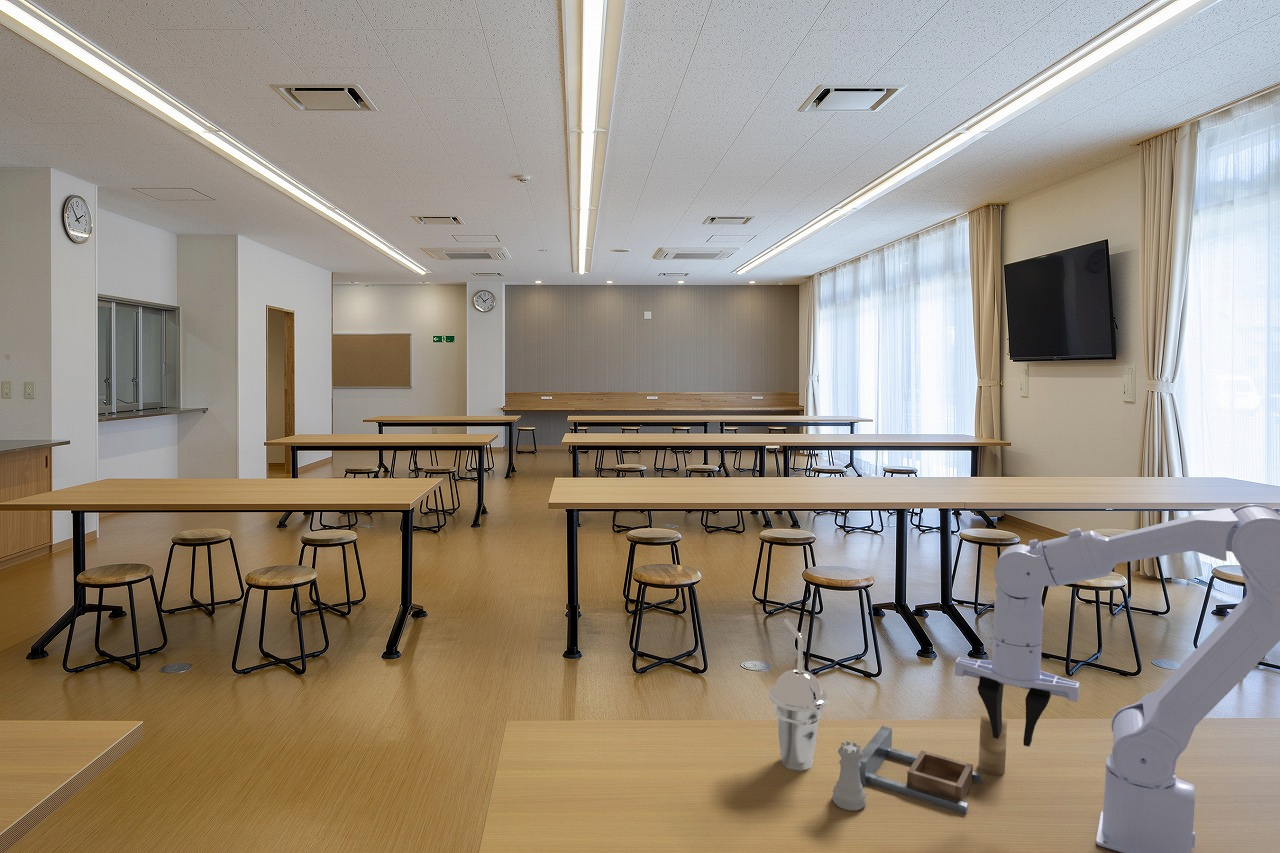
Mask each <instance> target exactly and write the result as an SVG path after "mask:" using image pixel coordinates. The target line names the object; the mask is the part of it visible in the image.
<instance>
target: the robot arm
mask: <svg viewBox="0 0 1280 853" xmlns="http://www.w3.org/2000/svg"><path fill="white" fill-rule="evenodd" d="M1188 552H1195V553H1196V552H1197V553H1200V554H1202V555H1205V556H1208V557H1211V558H1214V559H1216V560H1220V561H1223V562H1227V552H1231V553H1232V554H1233V556H1234V558H1235V559H1236V561H1237V562H1238V564H1239V565H1240V571H1241V574H1242V578H1243V580H1244V584H1245V589H1246V591H1247V593H1246V595H1245V596H1244V597H1243V599H1241V601H1240V602H1239V603H1238V604H1237V605H1236V606H1235V607H1234V608H1233V609H1232V610H1231V611H1230V612H1229V613H1228V614H1227V615H1226V617H1225V618H1224V619H1223V620H1221V622H1220V623H1219V624H1218V625H1217V626H1216V627H1215V628H1214V629H1213V630H1212V632H1211V633H1210V634H1209V635H1207V637H1205V639H1204V640H1203V641H1202V642H1201V643H1200V644H1199V645H1198V646H1197V648H1195V649H1194V651H1192V652H1191V653H1190V655H1189V656H1188V657H1187V658H1186V659H1185V660H1184V661H1183V662H1182V663H1181V664H1180V666H1178V668H1176V670H1175V671H1174V672H1173V673H1171V675H1170V676H1169V677H1168V678H1167V679H1166V680H1165V681H1164V682H1163V683H1162V685H1160V686H1159V688H1157V689H1156V690H1154V691H1151V692H1148V693H1146V694H1144V695H1143V696H1142V698H1140V700H1138V701H1137V702H1135V703H1132V704H1130V705H1126V706H1123V707H1121V708H1120V709H1118V710H1117V711H1116V712H1115V713H1114V715H1113V717H1112V720H1111V731H1112V740H1113V741H1112V743H1113V745H1112V748H1111V754H1110V755H1108V756H1107V757H1106V759H1105V774H1104V792H1103V803H1102V804H1103V805H1102V806H1103V807H1102V810H1101V811H1100V816H1099V820H1098V825H1097V826H1098V827H1097V830H1096V836H1095V837H1096V839H1095V844H1096V845H1098V846H1100V847H1103V848H1107V849H1109V850H1112V851H1115V852H1118V853H1192V848H1193V849H1195V845H1196V832H1195V831H1194V820H1195V805H1196V804H1195V802H1196V799H1195V798H1196V787H1195V785H1194V784H1193V783H1189V782H1188V781H1185V780H1182V779H1180V778H1178V777H1177V776H1176V772H1175V771H1176V768H1177V767H1176V766H1177V762H1178V759H1179V757H1180V756H1181V754H1182V753H1183V752H1185V750H1186V749H1187V748H1188V745H1189V743H1190V740H1191V738H1192V735H1193V734H1194V733H1193V732H1194V730H1195V728H1196V726H1197V725H1198V724H1199V723H1200V722H1202V720H1203V719H1204V718H1205V717H1206V716H1207V715H1208V714H1209V713H1210V712H1211V711H1212V710H1213V709H1214V708H1215V707H1216V706H1217V705H1219V703H1220V702H1221V701H1222V700H1223V699H1224V698H1225V697H1226V696H1227V695H1228V694H1229V693H1230V692H1231V691H1232V690H1233V689H1234V688H1235V687H1236V686H1237V685H1238V684H1239V683H1240V682H1241V681H1242V680H1243V679H1244V678H1245V676H1246V675H1248V674H1249V673H1250V672H1251V671H1252V670H1253V669H1254V668H1255V666H1256V665H1258V664H1259V663H1260V662H1261V660H1263V658H1265V656H1267V655H1268V653H1269V652H1271V650H1272V649H1274V648H1275V647H1276V645H1277V644H1278V643H1279V642H1280V512H1279V511H1277V510H1276V509H1274V508H1272V507H1269V506H1268V505H1264V504H1259V503H1258V504H1256V503H1253V504H1252V503H1250V504H1244V505H1241V506H1238V507H1236V508H1234V509H1231V508H1230V507H1227V508H1226V507H1225V508H1216V509H1213V510H1208V511H1204V512H1200V513H1196V514H1192V515H1188V516H1185V517H1179V518H1176V519H1172V520H1168V521H1165V522H1162V523H1158V524H1154V525H1149V526H1146V527H1142V528H1138V529H1134V530H1131V531H1126V532H1123V533H1120V534H1115V535H1112V536H1106V535H1102V534H1101V533H1098V532H1096V531H1095V530H1087V531H1083V530H1082V529H1081V528H1080V527H1077V528H1073V529H1069V530H1068V535H1065V536H1060V537H1057V538H1052V539H1048V540H1044V541H1039V540H1038V539H1037V538H1034V539H1031V540H1029V542H1028V545H1026V544H1019V543H1018V544H1013V545H1010V546H1008V547H1007V548H1005V549H1004V550H1003V551H1002V552H1001V554H1000V555H999V557H998V559H997V561H996V563H995V565H994V570H993V574H994V575H993V576H994V581H995V583H996V588H995V596H996V599H995V600H994V605H993V607H994V608H993V609H994V610H993V626H992V630H993V631H992V651H991V655H992V657H991V660H985V659H973V658H967V657H961V656H958V657H957V659H956V660H955V661H954V662H955V663H954V676H957V677H964V676H966V677H971V678H974V679H978V680H979V681H978V685H977V692H978V695H979V697H980V698H981V700H982V702H983V704H984V706H985V709H986V712H987V714H988V715H989V719H990V723H991V727H992V734H993V738H997V739H999V736H1000V734H1001V730H1002V717H1003V716H1002V715H1003V714H1002V713H1003V712H1002V710H1003V709H1002V708H1003V698H1004V697H1003V694H1004V686H1005V685H1006V686H1010V687H1016V688H1020V689H1023V690H1024V689H1025V690H1028V692H1027V693H1026V695H1025V696H1026V697H1025V699H1024V700H1025V726H1024V733H1023V747H1024V746H1025V747H1029V748H1030V747H1031V744H1032V741H1033V734H1034V732H1035V727H1036V724H1037V723H1038V721H1039V720H1040V717H1041V715H1042V713H1043V712H1044V710H1046V707H1047V706H1048V704H1049V703H1050V699H1051V696H1056V697H1061V698H1066V699H1067V700H1068V701H1070V702H1073V703H1074V702H1075V703H1078V701H1079V697H1080V684H1081V683H1080V681H1075V680H1071V679H1068V678H1065V677H1061V676H1059V675H1055V674H1052V673H1050V672H1046V671H1043V670H1041V666H1042V665H1041V664H1042V646H1043V645H1042V644H1043V627H1044V626H1043V624H1044V621H1043V620H1044V606H1043V603H1042V601H1043V600H1042V599H1043V589H1044V587H1052V588H1054V587H1055V588H1056V587H1059V586H1066V585H1070V584H1075V583H1080V582H1086V581H1091V580H1095V579H1096V580H1097V579H1100V578H1106V577H1108V576H1110V575H1111V573H1112V571H1113V570H1114V568H1115V566H1116V565H1117V564H1122V563H1128V562H1134V561H1140V560H1145V559H1152V558H1157V557H1162V556H1163V557H1164V556H1169V555H1174V554H1182V553H1188Z"/></svg>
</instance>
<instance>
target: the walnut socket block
mask: <svg viewBox="0 0 1280 853" xmlns="http://www.w3.org/2000/svg"><path fill="white" fill-rule="evenodd" d="M973 770H974V764H972V763H968V762H965V761H962V760H958V759H954V758H950V757H946V756H943V755H939V754H936V753H933V752H928V751H925V750H921V751H920V752H919V754H918V756H917V758H916V759H915V761H914V763H913V764H911V766H910V767H909V769H908V771H907V778H906V779H907V780H906V784H907V785H910V786H913V787H916V788H920V789H923V790H926V791H930V792H933V793H936V794H939V795H943V796H946V797H949V798H952V799H956V800H959V801H962V802H964V800H965V798H966V796H967V794H968V792H969V790H970V787H971V786H972V784H973V781H972V775H973Z"/></svg>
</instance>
